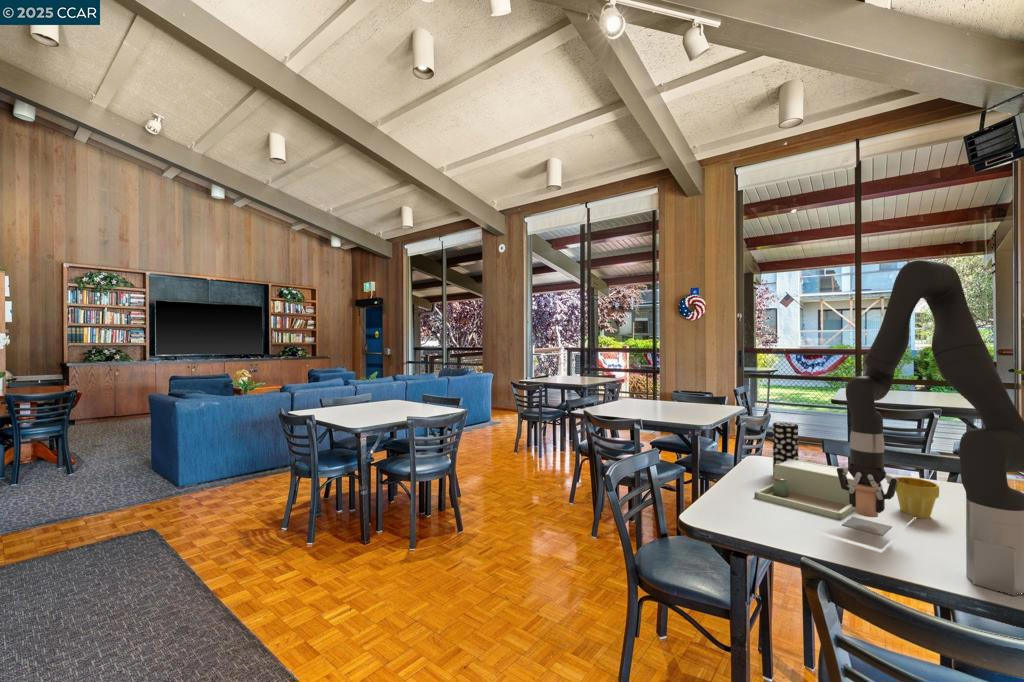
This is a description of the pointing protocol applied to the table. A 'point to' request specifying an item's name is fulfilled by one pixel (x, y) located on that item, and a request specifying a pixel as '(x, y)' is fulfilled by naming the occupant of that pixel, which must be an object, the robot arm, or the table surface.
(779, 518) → the table surface
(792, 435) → the white-spotted black cylinder
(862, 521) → the slate tile
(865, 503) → the terracotta pot
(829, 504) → the tray with back shelf
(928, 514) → the plant pot
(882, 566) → the table surface
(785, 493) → the green plastic pot
